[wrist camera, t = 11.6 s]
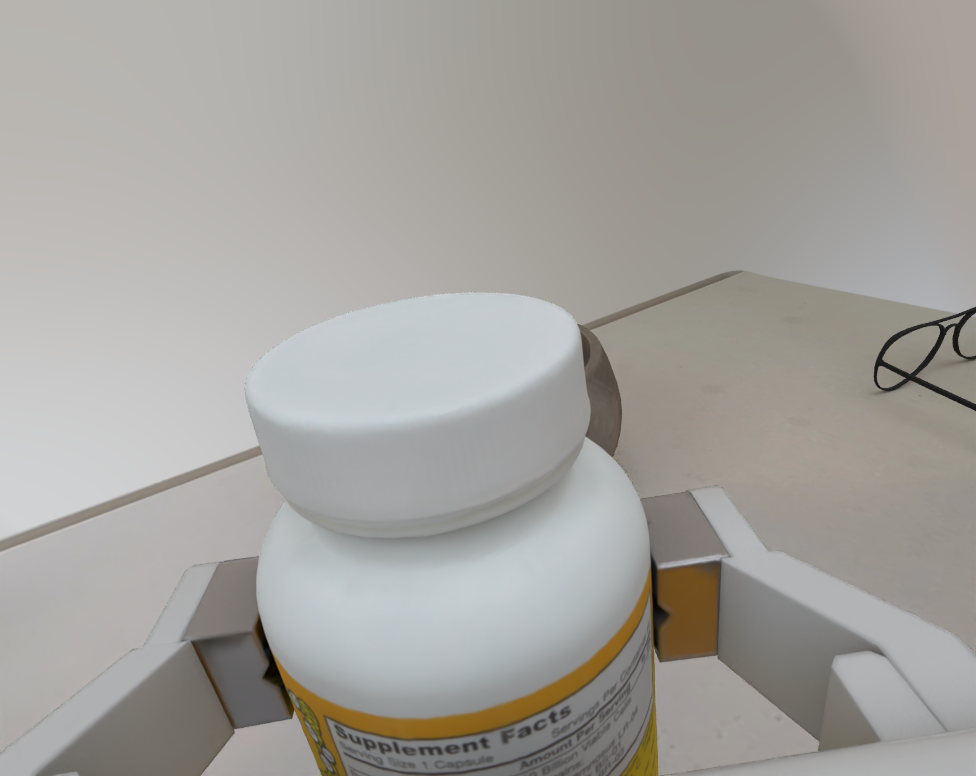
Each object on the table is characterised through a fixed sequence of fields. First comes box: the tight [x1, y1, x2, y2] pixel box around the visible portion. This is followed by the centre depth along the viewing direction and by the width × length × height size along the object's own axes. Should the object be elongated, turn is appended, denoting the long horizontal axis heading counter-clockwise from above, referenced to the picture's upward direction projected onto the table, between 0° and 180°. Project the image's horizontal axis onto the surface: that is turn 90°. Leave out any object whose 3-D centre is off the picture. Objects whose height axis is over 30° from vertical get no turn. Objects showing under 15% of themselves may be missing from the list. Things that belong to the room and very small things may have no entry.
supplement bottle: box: [245, 292, 658, 776], centre depth 9 cm, size 5×5×10 cm
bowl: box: [577, 324, 622, 457], centre depth 37 cm, size 17×18×10 cm
